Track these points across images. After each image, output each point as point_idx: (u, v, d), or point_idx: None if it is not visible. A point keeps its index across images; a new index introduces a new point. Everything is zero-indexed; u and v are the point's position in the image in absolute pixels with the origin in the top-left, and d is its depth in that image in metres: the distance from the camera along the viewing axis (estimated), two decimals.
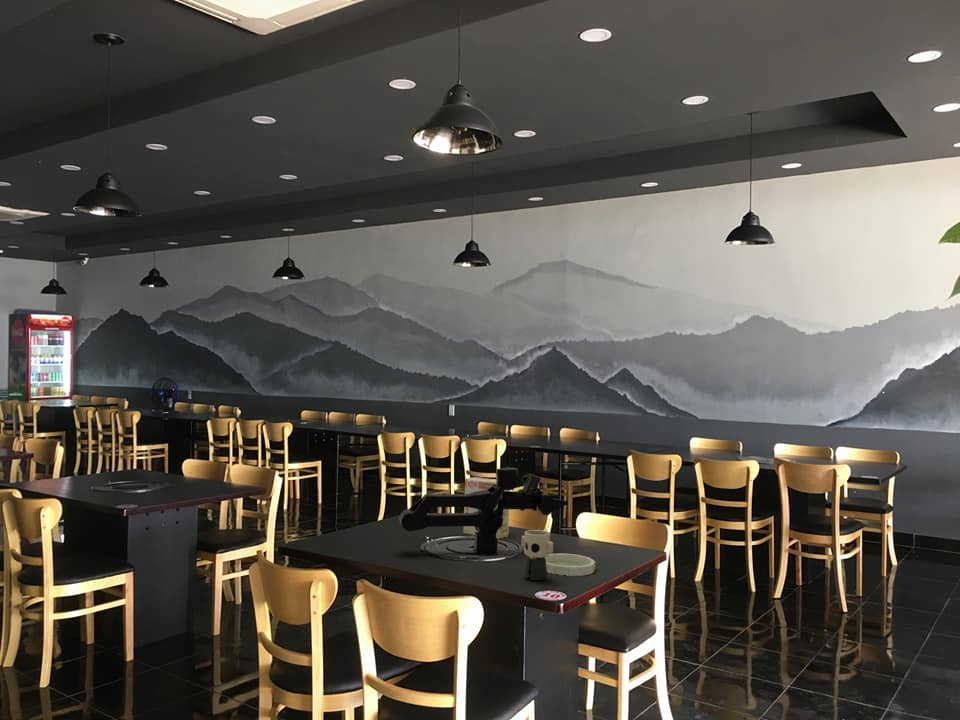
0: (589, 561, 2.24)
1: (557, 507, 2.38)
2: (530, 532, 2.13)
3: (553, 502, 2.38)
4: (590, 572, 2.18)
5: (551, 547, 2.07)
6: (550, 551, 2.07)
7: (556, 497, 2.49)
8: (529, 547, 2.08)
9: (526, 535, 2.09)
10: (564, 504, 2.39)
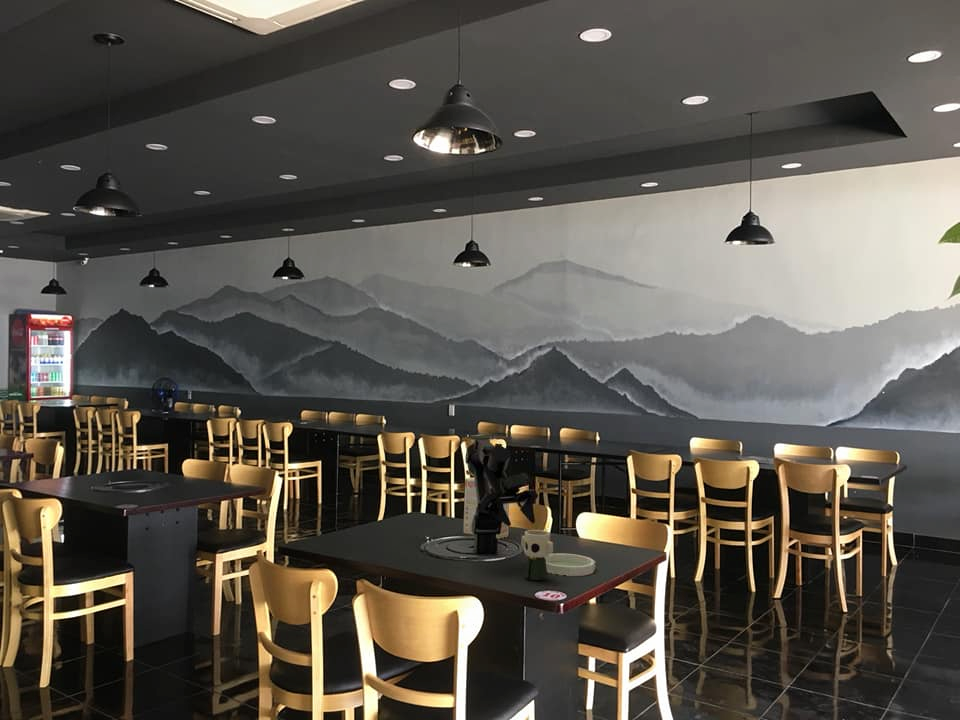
0: (589, 561, 2.24)
1: (498, 517, 2.17)
2: (530, 532, 2.13)
3: (499, 510, 2.17)
4: (590, 572, 2.18)
5: (551, 547, 2.07)
6: (550, 551, 2.07)
7: (532, 520, 2.21)
8: (529, 547, 2.08)
9: (526, 535, 2.09)
10: (505, 523, 2.15)
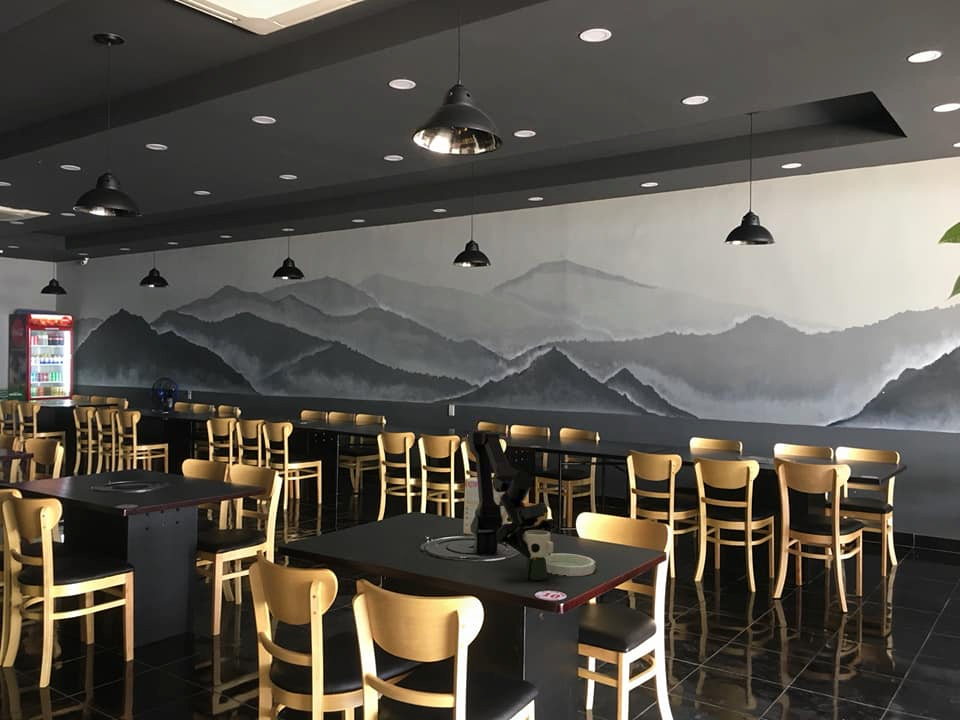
0: (589, 561, 2.24)
1: (518, 549, 2.09)
2: (530, 532, 2.13)
3: (519, 541, 2.09)
4: (590, 572, 2.18)
5: (551, 547, 2.07)
6: (550, 551, 2.07)
7: None
8: (529, 547, 2.08)
9: (526, 535, 2.09)
10: (525, 555, 2.08)
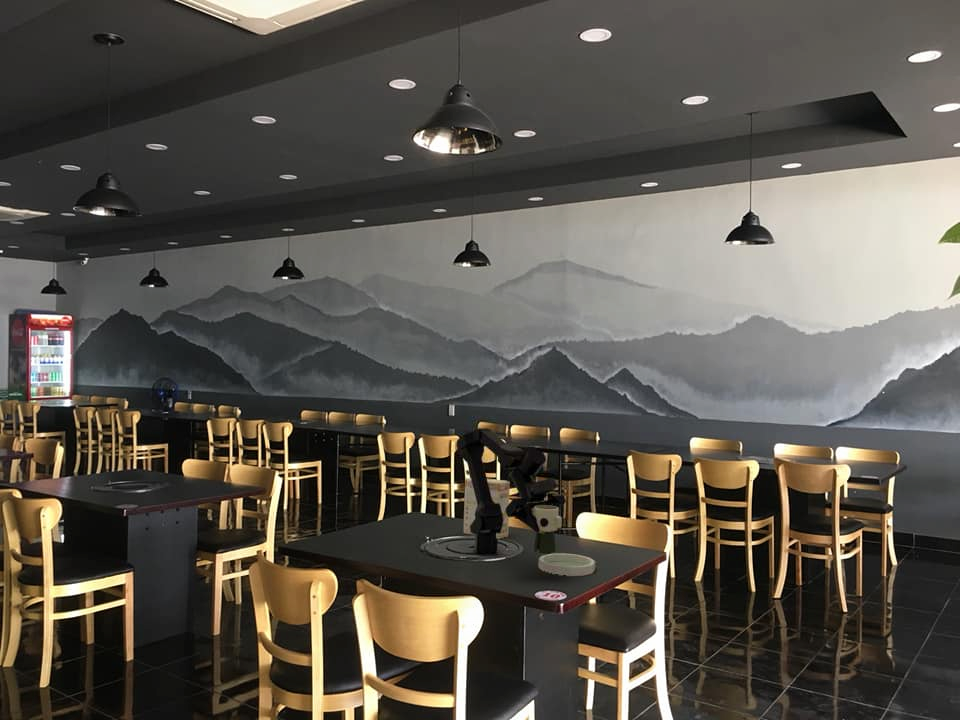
0: (589, 561, 2.24)
1: (527, 523, 2.13)
2: (539, 507, 2.17)
3: (528, 516, 2.13)
4: (590, 572, 2.18)
5: (560, 522, 2.10)
6: (559, 525, 2.10)
7: None
8: (538, 521, 2.12)
9: (535, 510, 2.13)
10: (534, 529, 2.12)
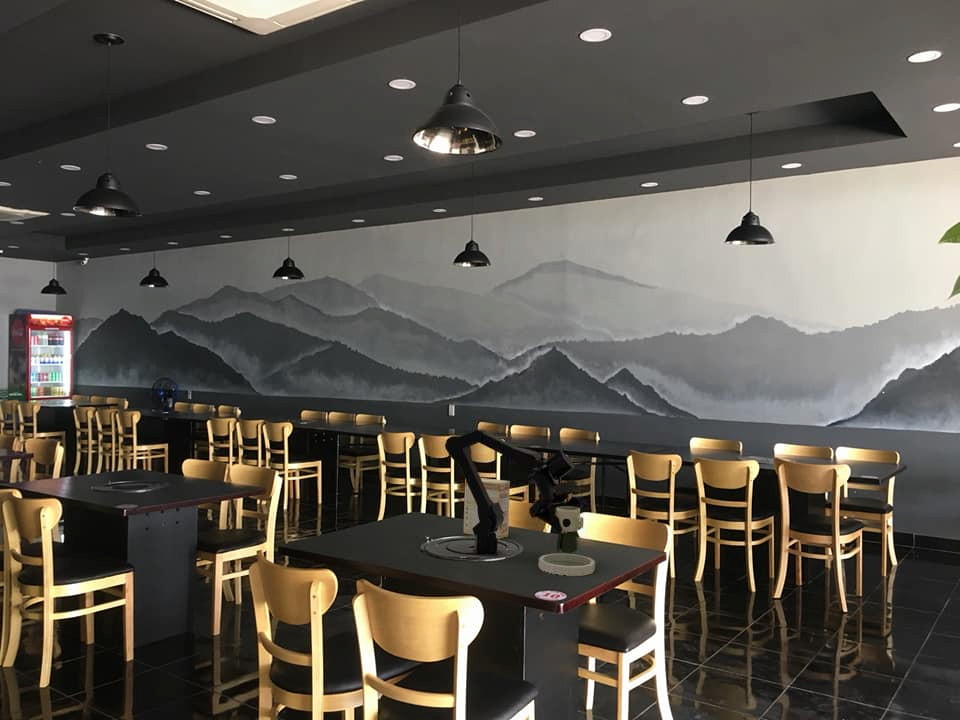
0: (589, 561, 2.24)
1: (550, 523, 2.22)
2: (561, 508, 2.26)
3: (550, 516, 2.22)
4: (590, 572, 2.18)
5: (581, 522, 2.19)
6: (580, 526, 2.20)
7: None
8: (561, 522, 2.21)
9: (558, 511, 2.22)
10: (557, 529, 2.21)
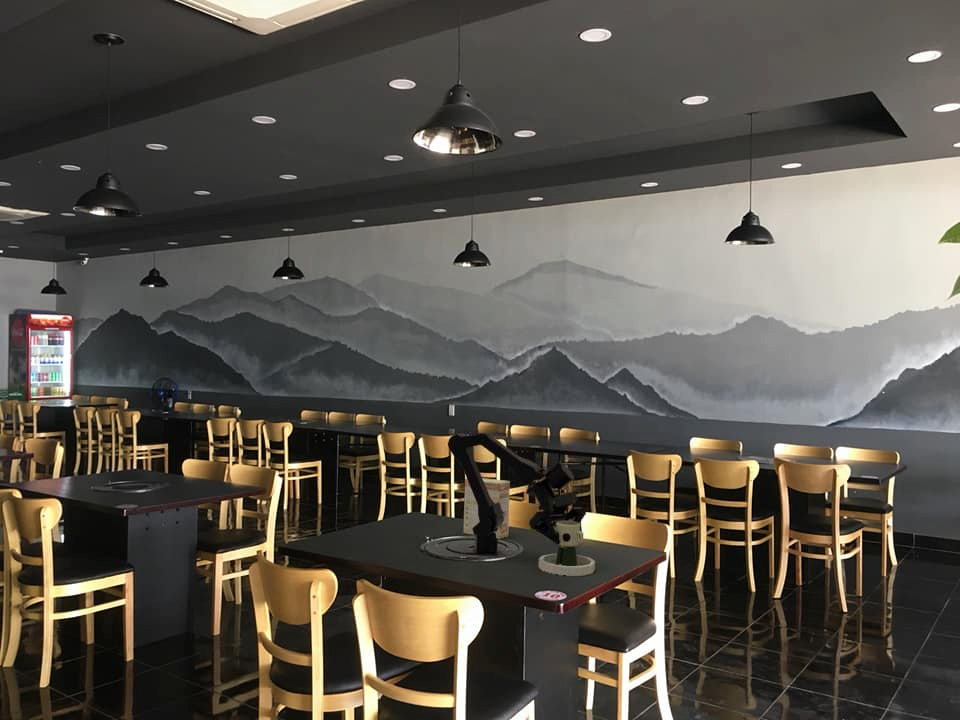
0: (589, 561, 2.24)
1: (548, 535, 2.21)
2: (561, 523, 2.26)
3: (548, 528, 2.21)
4: (590, 572, 2.18)
5: (581, 537, 2.20)
6: (580, 540, 2.20)
7: None
8: (560, 536, 2.21)
9: (558, 525, 2.22)
10: (555, 541, 2.20)
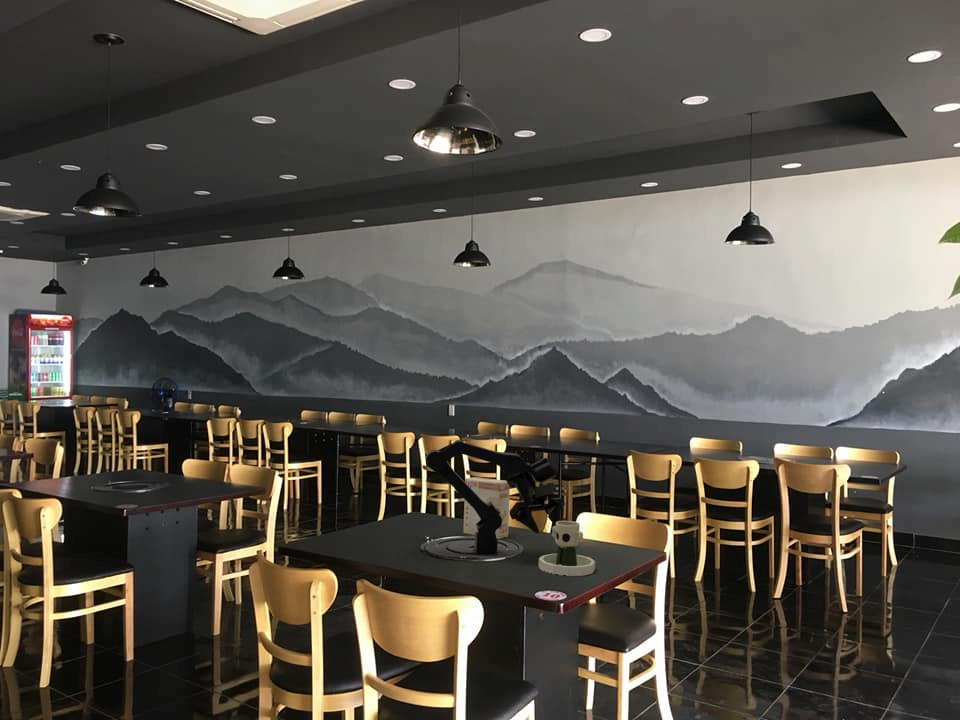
0: (589, 561, 2.24)
1: (527, 525, 2.29)
2: (560, 523, 2.26)
3: (528, 518, 2.29)
4: (590, 572, 2.18)
5: (581, 537, 2.19)
6: (580, 540, 2.20)
7: None
8: (560, 537, 2.21)
9: (557, 525, 2.22)
10: (534, 530, 2.28)
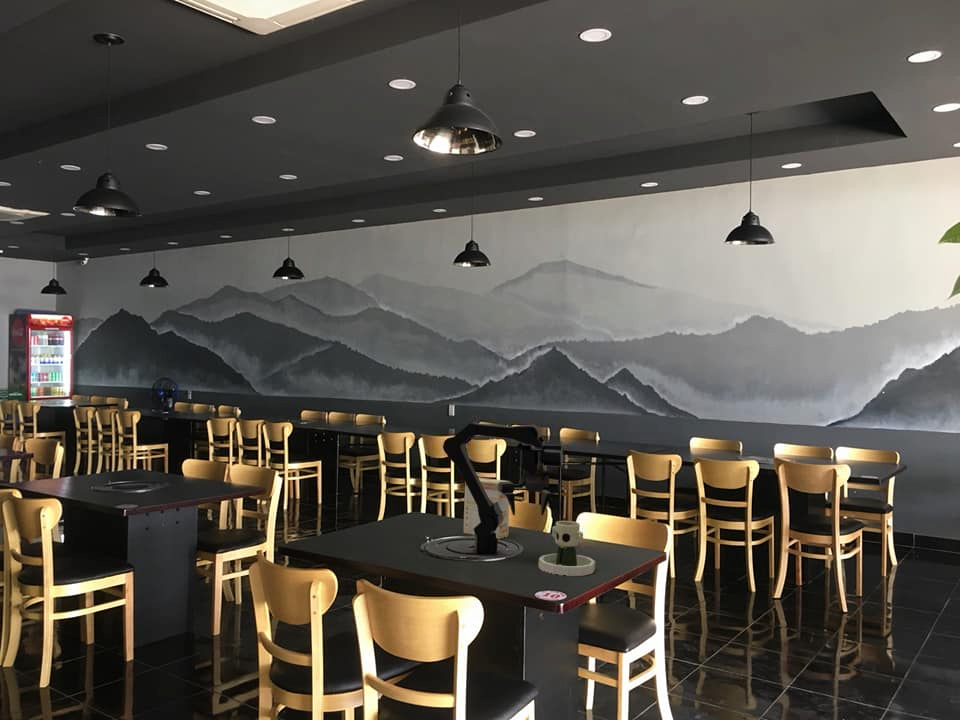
0: (589, 561, 2.24)
1: (509, 502, 2.36)
2: (560, 523, 2.26)
3: None
4: (590, 572, 2.18)
5: (581, 537, 2.19)
6: (580, 540, 2.20)
7: (541, 512, 2.37)
8: (560, 537, 2.21)
9: (557, 525, 2.22)
10: None
